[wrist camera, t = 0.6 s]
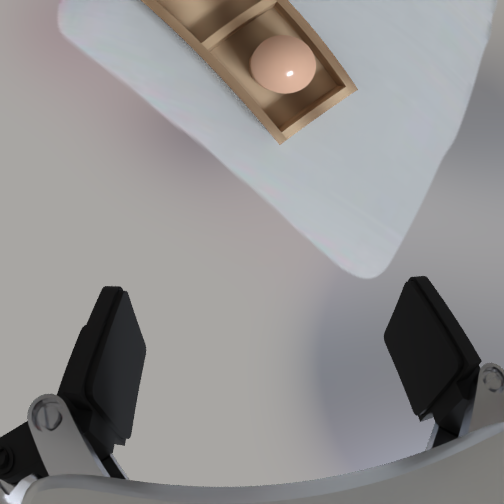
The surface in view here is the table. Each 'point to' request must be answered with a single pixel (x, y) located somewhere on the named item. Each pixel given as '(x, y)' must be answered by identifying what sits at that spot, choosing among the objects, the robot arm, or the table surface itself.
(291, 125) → the oak tray
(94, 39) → the table surface
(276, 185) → the table surface
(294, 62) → the peach rounded capsule
